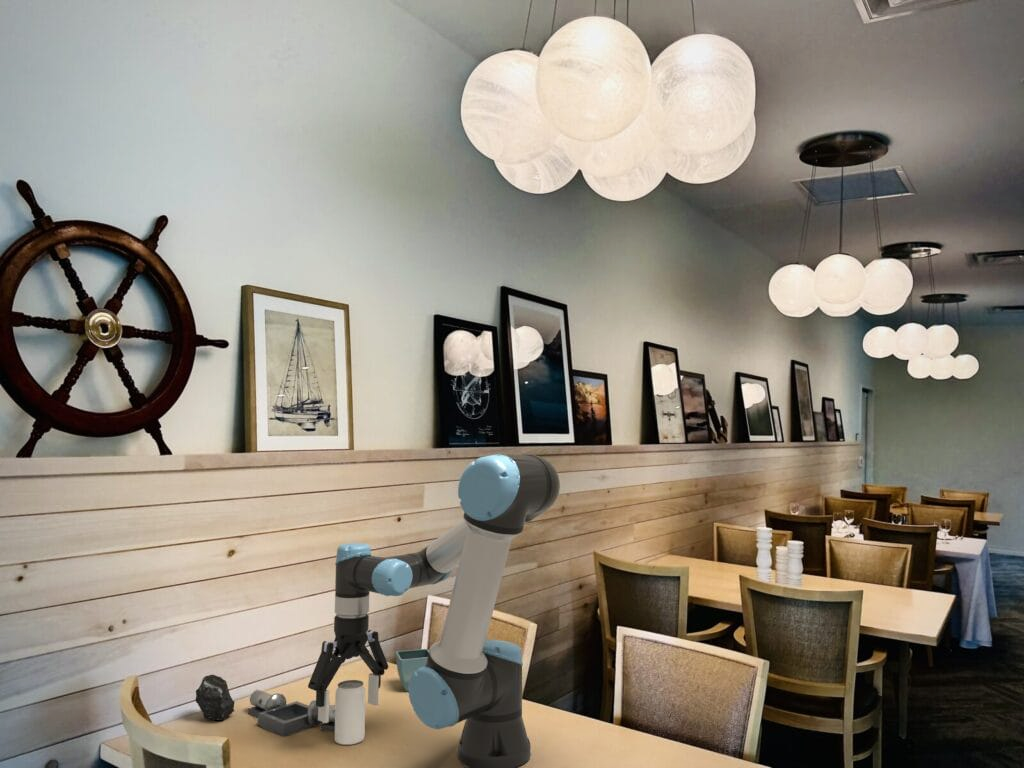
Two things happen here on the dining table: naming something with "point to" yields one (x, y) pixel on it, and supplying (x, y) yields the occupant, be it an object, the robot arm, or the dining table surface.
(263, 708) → the shaft
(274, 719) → the socket
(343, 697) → the can
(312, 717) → the shaft
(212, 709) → the rock
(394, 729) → the dining table surface
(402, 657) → the flower pot
